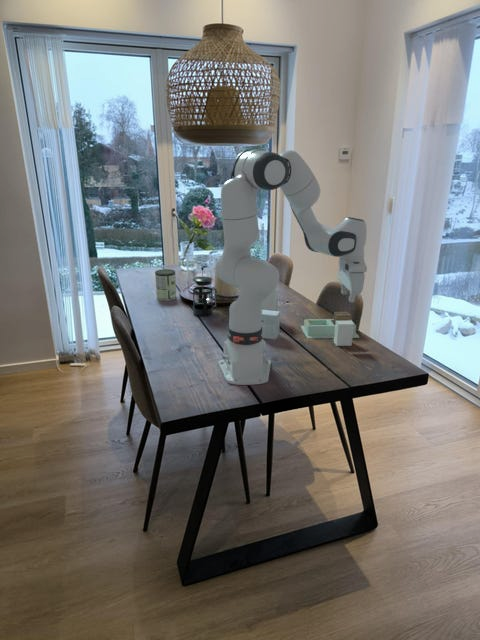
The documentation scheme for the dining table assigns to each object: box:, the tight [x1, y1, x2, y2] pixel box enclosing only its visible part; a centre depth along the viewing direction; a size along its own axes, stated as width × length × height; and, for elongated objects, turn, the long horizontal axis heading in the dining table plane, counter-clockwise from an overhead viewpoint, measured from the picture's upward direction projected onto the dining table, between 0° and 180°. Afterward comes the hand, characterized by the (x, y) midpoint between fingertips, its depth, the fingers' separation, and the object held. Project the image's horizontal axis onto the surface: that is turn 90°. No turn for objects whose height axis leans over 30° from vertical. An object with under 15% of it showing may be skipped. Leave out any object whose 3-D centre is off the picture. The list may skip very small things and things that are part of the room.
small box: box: [261, 310, 281, 340], centre depth 180 cm, size 8×6×10 cm
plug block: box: [333, 320, 355, 347], centre depth 171 cm, size 4×6×10 cm, turn 94°
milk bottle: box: [262, 289, 278, 311], centre depth 195 cm, size 8×8×20 cm
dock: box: [300, 318, 361, 339], centre depth 184 cm, size 14×22×5 cm, turn 94°
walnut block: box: [333, 311, 352, 325], centre depth 184 cm, size 4×6×8 cm, turn 94°
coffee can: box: [154, 268, 177, 302], centre depth 226 cm, size 10×10×14 cm
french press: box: [192, 264, 218, 318], centre depth 203 cm, size 12×9×23 cm
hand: (347, 297), depth 166 cm, fingers open, 8 cm apart
